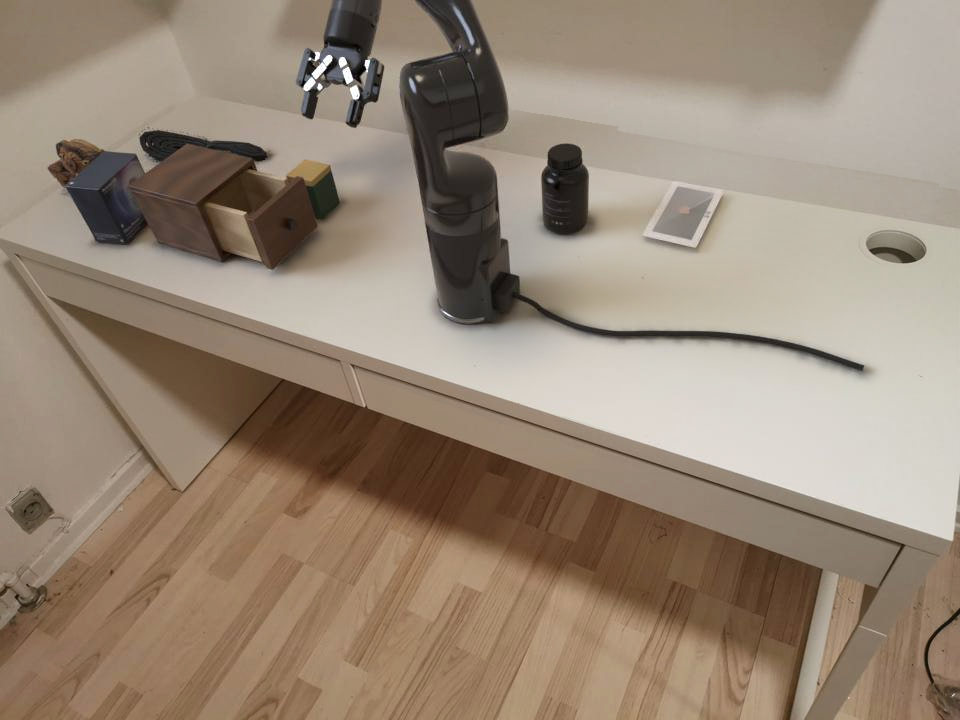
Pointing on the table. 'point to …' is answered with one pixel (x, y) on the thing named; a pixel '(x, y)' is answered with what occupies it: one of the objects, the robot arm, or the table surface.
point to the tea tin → (317, 186)
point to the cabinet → (187, 197)
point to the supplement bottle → (565, 190)
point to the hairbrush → (177, 141)
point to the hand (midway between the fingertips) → (328, 121)
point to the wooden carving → (72, 159)
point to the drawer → (261, 216)
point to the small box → (109, 197)
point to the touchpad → (683, 214)
